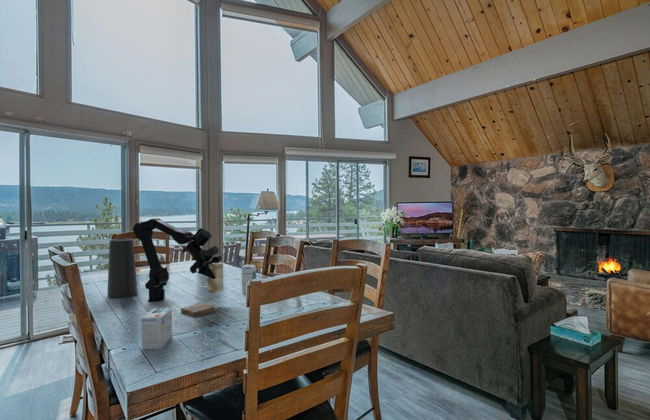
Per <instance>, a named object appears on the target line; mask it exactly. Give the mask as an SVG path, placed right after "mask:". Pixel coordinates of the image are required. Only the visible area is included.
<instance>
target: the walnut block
mask: <svg viewBox="0 0 650 420" xmlns="http://www.w3.org/2000/svg"><path fill="white" fill-rule="evenodd" d="M212 312H215V306H213V305H210V304H206V303H202V302H199V303H196V304H193V305H188V306H184V307H181V308H180V313H181V314H184V315H187V316H190V317H192V318H196V317H199V316H203V315H206V314H207V315H208V314H210V313H212Z"/></svg>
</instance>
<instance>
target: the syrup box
mask: <svg viewBox="0 0 650 420" xmlns="http://www.w3.org/2000/svg"><path fill="white" fill-rule="evenodd" d="M253 279H256V280H257V268H256V264H245V265H243V266H241V294H243V293H244V294H245V295H247V294H246V284H247V283H248V281H250V280H253Z"/></svg>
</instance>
